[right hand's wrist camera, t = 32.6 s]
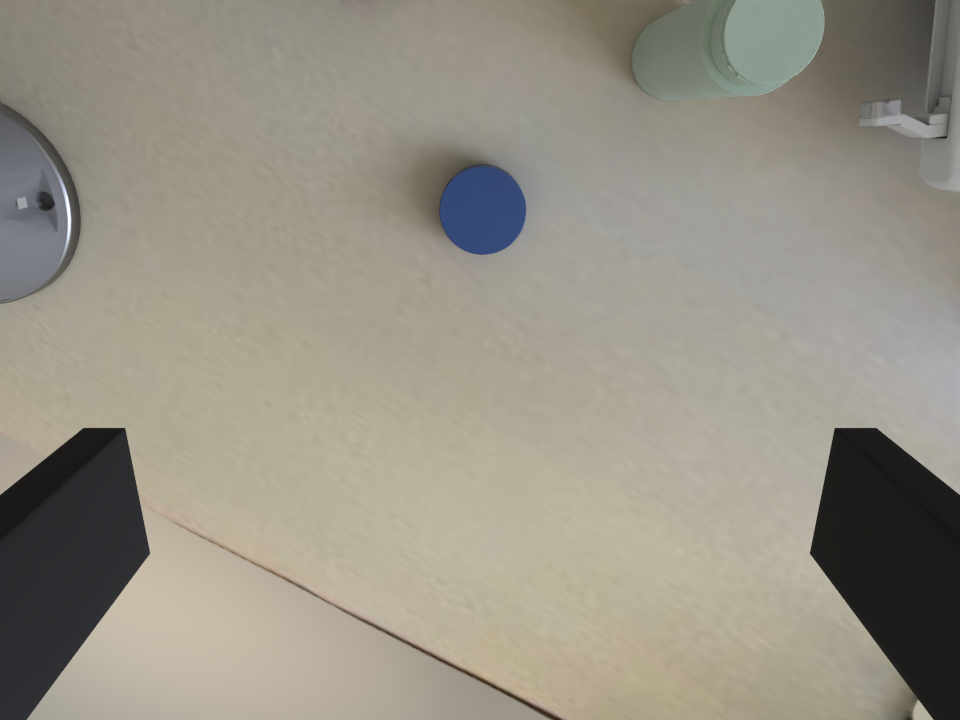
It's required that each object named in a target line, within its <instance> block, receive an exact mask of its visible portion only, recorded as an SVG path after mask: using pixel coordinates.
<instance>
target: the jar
mask: <svg viewBox="0 0 960 720" xmlns="http://www.w3.org/2000/svg"><path fill="white" fill-rule="evenodd" d="M823 32H824V11H823V7H822V3H821V1H820V0H694V1H692V2H690V3H688V4H686V5H684V6H682V7H680V8H678V9H676V10H674V11H672V12H670V13H668V14H666V15H665V16H663V17H661V18H659V19H657V20H655V21H653V22H652V23H650V24H649V25H648V26H647V27H646V28H645V29H644V30H643V31H642V32H641V34H640V35H639V37H638V39H637V41H636V43H635V46H634V48H633V53H632V71H633V74H634V77H635V80H636V82H637V83H638V85H639V86H640V88H641V89H642V90H643V91H644V92H645V93H647V94H648V95H650V96H651V97H653V98H656V99H660V100H684V99H704V98H724V97H744V96H757V95H762V94H765V93H768V92H771V91H773V90H775V89H777V88H779V87H780V86H782V85H783V84H785V83H786V82H787V81H788V80H789V79H791V78H792V77H794V76H795V75H797V74H798V73H799V72H801V71H802V70H803V69H804V68H805V67H806V66H807V65H808V64H809V62H810V61H811V60H812V58H813V57H814V55H815V54H816V52H817V50H818V48H819V46H820V43H821V40H822V37H823Z"/></svg>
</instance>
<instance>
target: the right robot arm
mask: <svg viewBox="0 0 960 720" xmlns="http://www.w3.org/2000/svg"><path fill="white" fill-rule="evenodd" d="M79 233H80V207H79V202H78V196H77V193H76V189H75V186H74V183H73V181H72V178H71V176H70V173H69V171H68V169H67V167H66V165H65V164H64V162H63V160H62V158H61V157H60V155H59V154H58V152H57V151H56V150H55V148H54V147H53V145H52V144H51V143H50V142H49V141H48V139H47V138H46V137H45V136H44V135H43V134H42V133H41V132H40V131H39V130H38V129H37V128H36V127H35V126H34V125H33V124H32V123H30V122H29V121H28V120H27V119H25V118H24V117H23V116H21V115H20V114H19V113H17V112H15V111H14V110H12V109H11V108H9V107H7V106H5V105H3V104H1V103H0V304H3V303H8V302H12V301H16V300H19V299H21V298H24V297H26V296H29V295H31V294H33V293H36V292H38V291H40V290H42V289H44V288H45V287H47V286H48V285H50V284H51V283H53V282H54V281H55V280H56V279H57V278H58V277H59V276H60V275H61V274H62V273H63V272H64V270H65V269H66V268H67V266H68V264H69V263H70V261H71V259H72V257H73V255H74V253H75V250H76V247H77V244H78V239H79ZM149 554H150V551H149V546H148V541H147V536H146V531H145V526H144V521H143V516H142V510H141V505H140V500H139V495H138V490H137V485H136V480H135V475H134V470H133V465H132V460H131V455H130V450H129V445H128V440H127V435H126V430H125V428H83V429H82V430H81V431H79V432H78V433H77V434H76V435H74V436H73V437H72V438H71V439H69V440H68V441H67V442H66V443H65V444H63V445H62V446H61V447H60V448H58V449H57V450H56V451H55V452H53V453H52V454H51V455H50V456H48V457H47V458H46V459H45V460H43V461H42V462H41V463H40V464H38V465H37V466H36V467H35V468H33V469H32V470H31V471H30V472H28V473H27V474H26V475H25V476H23V477H22V478H21V479H20V480H18V481H17V482H16V483H15V484H13V485H12V486H11V487H10V488H9V489H7V490H6V491H5V492H4V493H2V494H1V495H0V720H27V718H28V717H29V715H30V714H31V713H32V711H33V710H34V709H35V707H36V706H37V705H38V703H39V702H40V701H41V699H42V698H43V697H44V695H45V694H46V693H47V691H48V690H49V689H50V687H51V686H52V685H53V683H54V682H55V681H56V679H57V678H58V676H59V675H60V674H61V672H62V671H63V670H64V668H65V667H66V666H67V664H68V663H69V662H70V660H71V659H72V658H73V656H74V655H75V654H76V652H77V651H78V650H79V648H80V647H81V646H82V644H83V643H84V642H85V640H86V639H87V637H88V636H89V635H90V633H91V632H92V631H93V629H94V628H95V627H96V625H97V624H98V623H99V621H100V620H101V619H102V617H103V616H104V615H105V613H106V612H107V611H108V609H109V608H110V607H111V605H112V604H113V603H114V601H115V600H116V599H117V597H118V596H119V594H120V593H121V592H122V590H123V589H124V588H125V586H126V585H127V584H128V582H129V581H130V580H131V578H132V577H133V576H134V574H135V573H136V572H137V570H138V569H139V568H140V566H141V565H142V564H143V562H144V561H145V559H146V558H147V557H148V556H149ZM810 554H811V556H812V557H813V558H814V560H815V561H816V562H817V564H818V565H819V566H820V568H821V569H822V570H823V572H824V573H825V574H826V576H827V577H828V578H829V580H830V581H831V582H832V584H833V585H834V586H835V588H836V589H837V590H838V592H839V593H840V594H841V596H842V597H843V599H844V600H845V601H846V603H847V604H848V605H849V607H850V608H851V609H852V611H853V612H854V613H855V615H856V616H857V617H858V619H859V620H860V621H861V623H862V624H863V625H864V627H865V628H866V629H867V631H868V632H869V633H870V635H871V636H872V638H873V639H874V640H875V642H876V643H877V644H878V646H879V647H880V648H881V650H882V651H883V652H884V654H885V655H886V656H887V658H888V659H889V660H890V662H891V663H892V664H893V666H894V667H895V668H896V670H897V671H898V672H899V674H900V675H901V677H902V678H903V679H904V681H905V682H906V683H907V685H908V686H909V687H910V689H911V690H912V691H913V693H914V694H915V695H916V697H917V698H918V699H919V701H920V702H921V703H922V705H923V706H924V707H925V709H926V710H927V711H928V713H929V714H930V715H931V717H932V718H933V720H960V495H959V494H958V493H956V492H955V491H954V490H953V489H952V488H950V487H949V486H948V485H947V484H945V483H944V482H943V481H942V480H940V479H939V478H938V477H937V476H935V475H934V474H933V473H932V472H930V471H929V470H928V469H927V468H925V467H924V466H923V465H922V464H920V463H919V462H918V461H917V460H915V459H914V458H913V457H912V456H910V455H909V454H908V453H907V452H905V451H904V450H903V449H902V448H900V447H899V446H898V445H897V444H895V443H894V442H893V441H892V440H891V439H889V438H888V437H887V436H886V435H884V434H883V433H882V432H881V431H879V430H878V429H877V428H835V430H834V435H833V440H832V445H831V450H830V455H829V460H828V465H827V470H826V475H825V480H824V485H823V490H822V495H821V500H820V505H819V510H818V516H817V521H816V526H815V531H814V536H813V541H812V546H811V551H810Z"/></svg>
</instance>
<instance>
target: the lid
mask: <svg viewBox="0 0 960 720" xmlns="http://www.w3.org/2000/svg"><path fill="white" fill-rule="evenodd" d="M525 217H526V204H525V199H524V196H523V193H522V191H521V189H520V187H519V185H518V184H517V182H516V181H515V180H514V178H513V177H512V176H511V175H509V174H508V173H507V172H506V171H504V170H502V169H500V168H498V167H495V166H491V165H474V166H470V167H468V168H465V169H463V170H462V171H460V172H458V173H457V174H456V175H455V176H454V177H453V178H452V179H451V180H450V181H449V183H448V184H447V186H446V188H445V190H444V192H443V195H442V198H441V202H440V220H441V224H442V227H443V229H444V231H445V233H446V235H447V236H448V237H449V239H450V240H451V241H452V242H453V243H454V244H455V245H456V246H458V247H459V248H461V249H463V250H464V251H467V252H469V253H473V254H480V255H486V254H492V253H496V252H499V251H501V250H503V249H505V248H506V247H508V246H509V245H510V244H512V243H513V242H514V241H515V239H516V238H517V237H518V235H519V234H520V232H521V230H522V228H523V226H524V222H525Z"/></svg>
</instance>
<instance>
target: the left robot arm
mask: <svg viewBox="0 0 960 720" xmlns="http://www.w3.org/2000/svg"><path fill="white" fill-rule="evenodd" d="M901 102H902V99H893V100H892V99H886V100H877V101H875V102H874V101H871V102H862V103H861V109H860V119H859V126H861V127H873V126H884V125H885V126H887V127H889V128H891V129H893V130H895V131H897V132H899V133H901V134H903V135H905V136H907V137H913V138H922V140H921V150H920V160H919V168H918V176H919V178H920V179H921V180H922V181H924V182H925V183H926V184H928V185H929V186H931V187H933V188H936V189H940V190H947V191H960V0H936V1H935V11H934V20H933V30H932V40H931V50H930V60H929V70H928V80H927V90H926V100H925V110H924V113H922V114H915V115H911V116H907V115H905V114H903V113H901Z"/></svg>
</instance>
